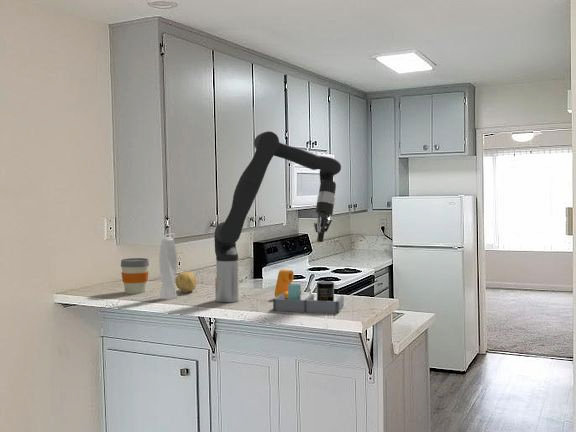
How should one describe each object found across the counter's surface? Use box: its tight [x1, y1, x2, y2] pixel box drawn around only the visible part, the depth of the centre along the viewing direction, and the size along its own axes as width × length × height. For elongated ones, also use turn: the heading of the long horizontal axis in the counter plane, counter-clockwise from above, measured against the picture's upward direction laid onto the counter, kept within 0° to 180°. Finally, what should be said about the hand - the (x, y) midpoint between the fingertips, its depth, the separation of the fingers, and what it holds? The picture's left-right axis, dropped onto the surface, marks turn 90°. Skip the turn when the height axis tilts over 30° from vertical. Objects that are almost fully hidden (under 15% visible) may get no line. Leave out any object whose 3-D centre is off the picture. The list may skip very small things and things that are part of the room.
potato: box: [175, 270, 198, 293], centre depth 285 cm, size 10×14×10 cm
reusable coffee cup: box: [120, 257, 150, 295], centre depth 284 cm, size 13×13×15 cm
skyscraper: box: [158, 232, 178, 301], centre depth 268 cm, size 8×8×28 cm
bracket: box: [274, 269, 295, 299], centre depth 270 cm, size 11×7×12 cm, turn 147°
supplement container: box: [316, 280, 335, 301], centre depth 245 cm, size 7×7×10 cm
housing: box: [272, 283, 345, 314], centre depth 245 cm, size 14×26×9 cm, turn 77°
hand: (319, 241), depth 267 cm, fingers closed
